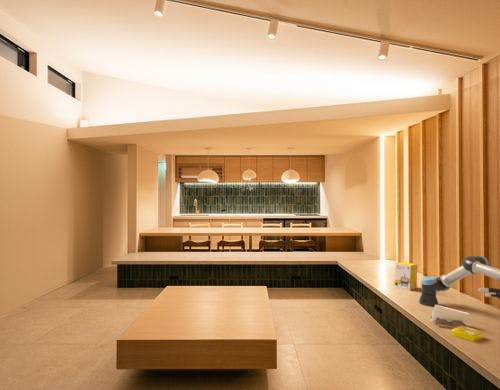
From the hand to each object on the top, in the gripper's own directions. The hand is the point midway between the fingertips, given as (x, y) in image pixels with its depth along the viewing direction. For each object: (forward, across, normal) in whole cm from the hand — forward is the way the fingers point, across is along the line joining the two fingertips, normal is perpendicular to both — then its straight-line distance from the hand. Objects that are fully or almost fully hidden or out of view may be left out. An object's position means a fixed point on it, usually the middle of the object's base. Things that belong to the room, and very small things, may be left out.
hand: (481, 292), depth 263 cm
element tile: (+17, -27, -24) cm, 40 cm away
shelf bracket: (+22, -4, -23) cm, 32 cm away
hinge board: (+23, -4, -24) cm, 33 cm away
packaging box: (+38, +105, -26) cm, 115 cm away
